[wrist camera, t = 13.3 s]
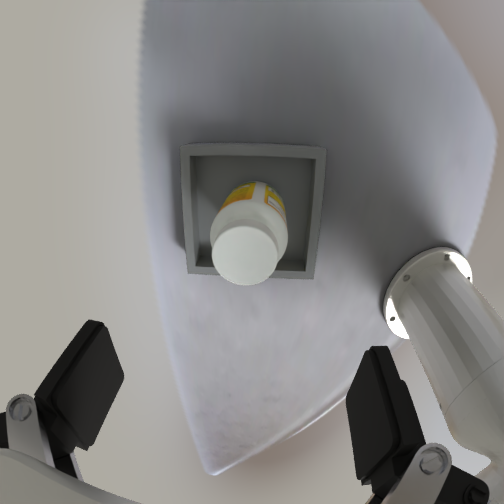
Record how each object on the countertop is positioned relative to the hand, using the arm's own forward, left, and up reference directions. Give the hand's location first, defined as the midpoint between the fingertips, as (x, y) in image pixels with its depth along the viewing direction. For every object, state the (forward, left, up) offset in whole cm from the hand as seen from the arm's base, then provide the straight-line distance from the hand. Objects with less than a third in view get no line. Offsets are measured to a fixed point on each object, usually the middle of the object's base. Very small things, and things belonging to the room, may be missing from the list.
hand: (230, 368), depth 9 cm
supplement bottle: (0, 0, -18) cm, 18 cm away
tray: (0, 0, -19) cm, 19 cm away
